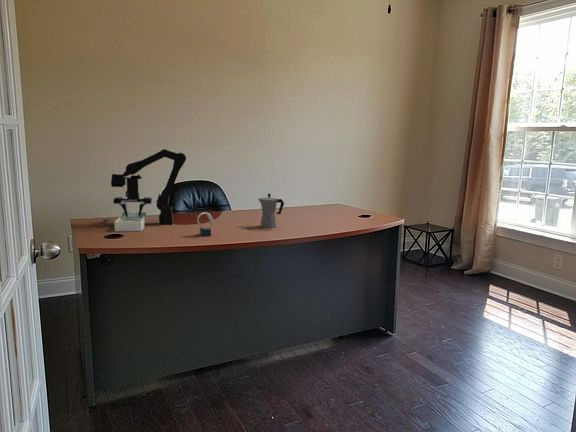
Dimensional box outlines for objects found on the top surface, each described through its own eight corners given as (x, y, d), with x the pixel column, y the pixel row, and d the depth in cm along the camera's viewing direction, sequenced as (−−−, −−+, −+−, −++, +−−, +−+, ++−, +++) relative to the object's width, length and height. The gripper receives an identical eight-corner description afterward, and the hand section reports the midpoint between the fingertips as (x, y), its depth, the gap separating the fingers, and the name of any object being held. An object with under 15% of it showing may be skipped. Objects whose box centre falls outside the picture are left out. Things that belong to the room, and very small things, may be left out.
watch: (214, 235, 217) (215, 213, 216) (198, 236, 215) (198, 213, 213) (212, 233, 223) (212, 211, 221) (196, 234, 220) (196, 211, 218)
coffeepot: (253, 226, 244) (254, 193, 241) (261, 223, 252) (262, 191, 249) (279, 229, 238) (280, 195, 235) (286, 226, 246) (287, 194, 243)
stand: (111, 225, 233) (111, 218, 232) (110, 227, 229) (110, 220, 229) (103, 225, 232) (103, 218, 232) (102, 227, 228) (101, 220, 228)
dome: (139, 215, 243) (139, 212, 242) (138, 217, 237) (138, 213, 237) (128, 215, 242) (128, 211, 241) (126, 217, 236) (126, 213, 235)
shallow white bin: (144, 225, 237) (144, 216, 237) (141, 231, 222) (141, 222, 221) (119, 225, 235) (119, 216, 234) (114, 231, 219) (114, 222, 219)
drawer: (146, 219, 246) (146, 212, 245) (143, 224, 231) (143, 217, 230) (122, 219, 244) (122, 212, 243) (117, 225, 228) (117, 217, 228)
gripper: (152, 185, 246) (152, 214, 249) (116, 185, 243) (117, 214, 245) (150, 188, 236) (151, 217, 238) (112, 187, 232) (113, 217, 234)
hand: (133, 216), depth 239 cm, fingers closed on dome, 6 cm apart
